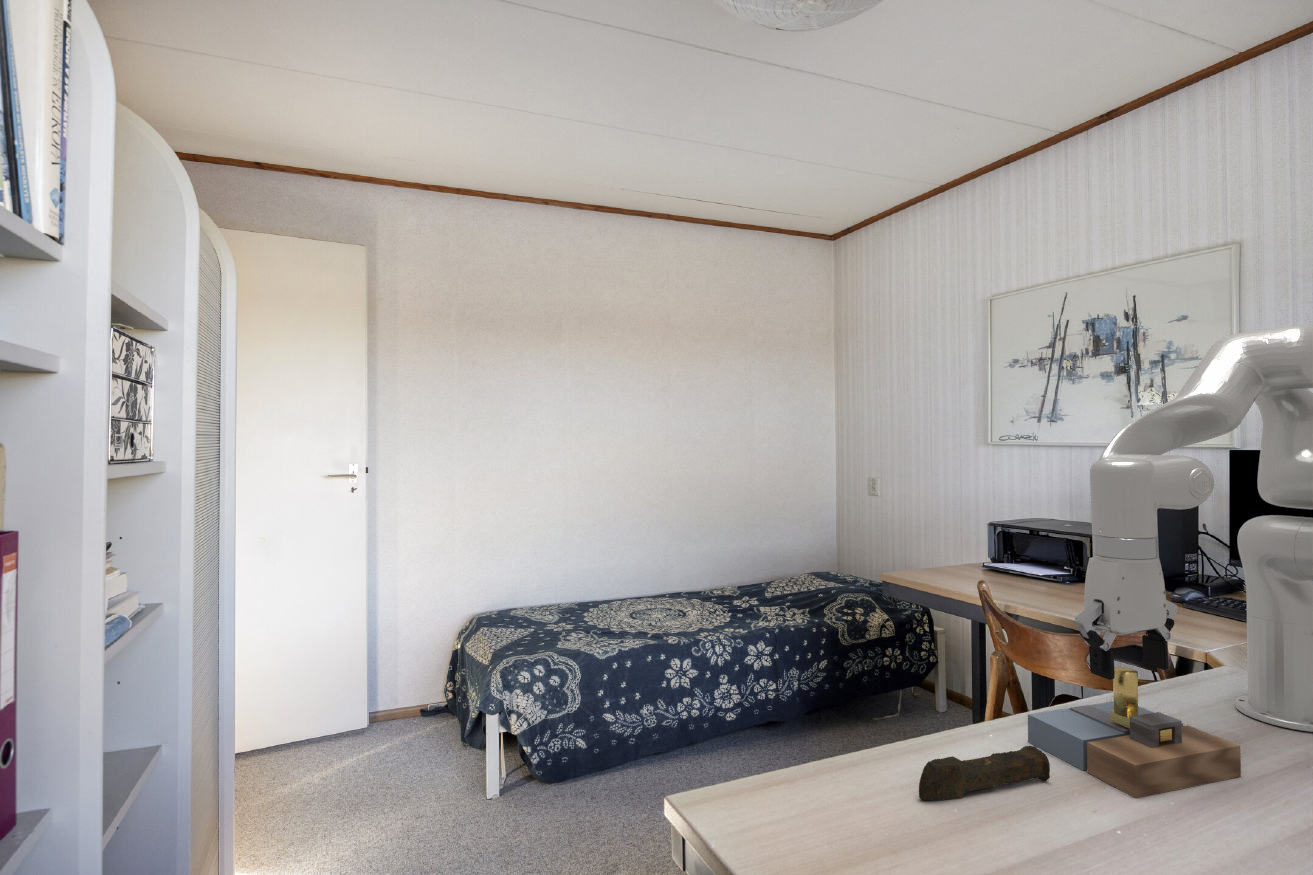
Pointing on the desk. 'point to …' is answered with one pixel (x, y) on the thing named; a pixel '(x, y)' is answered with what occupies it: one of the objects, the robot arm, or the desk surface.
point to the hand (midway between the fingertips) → (1129, 671)
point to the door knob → (1129, 700)
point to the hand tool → (981, 773)
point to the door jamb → (1162, 757)
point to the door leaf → (1074, 730)
